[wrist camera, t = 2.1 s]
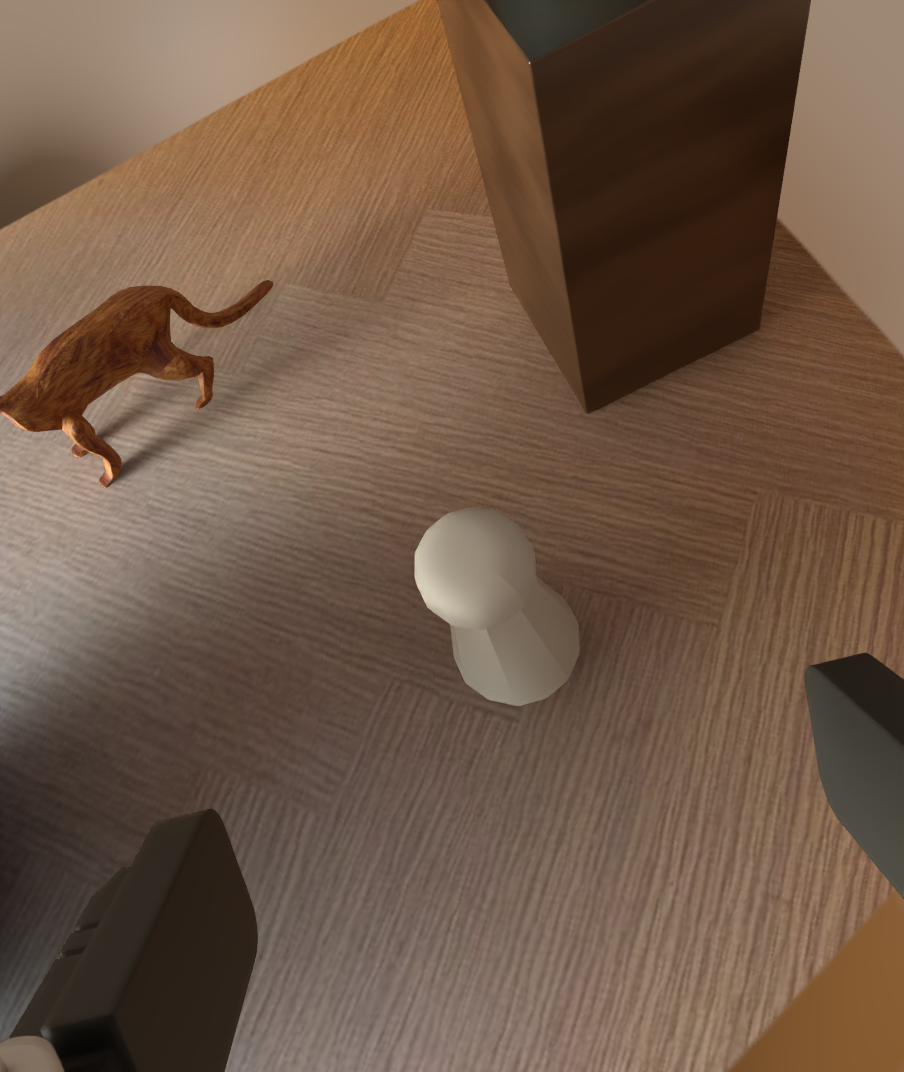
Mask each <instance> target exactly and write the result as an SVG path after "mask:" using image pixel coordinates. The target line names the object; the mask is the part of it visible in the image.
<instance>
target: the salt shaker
mask: <svg viewBox="0 0 904 1072" xmlns="http://www.w3.org/2000/svg"><path fill="white" fill-rule="evenodd" d="M415 581H416V584H417V587H418V589H419V591H420V593H421V595H422V597H423V599H424V601H425V604H426V606H427V607H428V608H429V609H430V610H431V611H432V612H434V613H435V614H436V615H438V616H439V617H441V618H442V619H443V620H445V621H446V622H448V623H449V624H450V629H451V637H452V646H453V654H454V659H455V661H456V664H457V666H458V668H459V670H460V672H461V674H462V677H463V679H464V681H465V683H466V684H467V685H469V686H470V687H471V688H473V689H474V690H476V691H477V692H478V693H480V694H481V695H483V696H484V697H485V698H487V699H488V700H491V701H496V702H500V703H505V704H510V705H515V706H522V705H525V704H529V703H532V702H536V701H539V700H543V699H546V698H548V697H549V696H550V695H551V694H552V693H554V692H555V691H556V690H557V689H558V688H560V687H561V686H562V685H563V684H564V683H565V682H567V681H568V680H569V677H570V675H571V673H572V670H573V668H574V666H575V663H576V661H577V659H578V656H579V654H580V643H579V624H578V621H577V619H576V618H575V616H574V614H573V613H572V611H571V609H570V607H569V606H568V604H567V602H566V600H565V599H564V598H563V597H562V596H560V595H559V594H558V593H557V592H556V591H554V590H553V589H552V588H551V587H549V586H548V585H547V584H546V583H545V582H543V581H542V580H541V579H540V578H538V577H537V576H536V556H535V552H534V549H533V547H532V545H531V544H530V542H529V540H528V539H527V537H526V535H525V534H524V532H523V530H522V529H521V527H520V526H519V525H518V524H517V523H516V522H514V521H512V520H511V519H509V518H508V517H506V516H505V515H503V514H502V513H500V512H499V511H497V510H496V509H487V508H477V507H468V508H465V509H461V510H458V511H454V512H451V513H448V514H445V515H444V516H443V517H442V518H441V519H439V520H438V521H437V522H436V523H435V524H434V525H432V526H431V527H430V528H429V529H428V530H427V531H426V532H425V534H424V536H423V538H422V540H421V542H420V544H419V546H418V548H417V550H416V552H415Z"/></svg>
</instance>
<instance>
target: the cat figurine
mask: <svg viewBox="0 0 904 1072" xmlns="http://www.w3.org/2000/svg"><path fill="white" fill-rule="evenodd" d="M272 286H273V282H272V281H269V280H267V281H263V282H262V283H260V284H259V285H257V286H256V287H255V288H254V289H253V290H252V291H250V292H249V293H248V294H247V295H246V296H245V297H244V298H242V299H241V300H240V301H239V302H237V303H236V304H234V305H233V306H231V307H229V308H227V309H225V310H222V311H220V312H216V313H207V312H204V311H201V310H199V309H197V308H196V307H194V306H193V305H192V304H191V303H190V302H189V301H188V300H187V299H186V298H185V297H184V296H183V295H182V294H180V293H179V292H177V291H175V290H173V289H171V288H166V287H162V286H136V287H129V288H126V289H123V290H121V291H118V292H117V293H115V294H114V295H112V296H111V297H110V298H108V299H107V300H106V301H105V302H104V303H102V304H101V305H100V306H99V307H97V308H96V309H95V310H93V311H92V312H91V313H89V314H88V315H86V316H85V317H84V318H82V319H81V320H79V321H78V322H77V323H75V324H74V325H72V326H71V327H70V328H68V329H67V330H66V331H64V332H63V333H62V334H60V335H59V336H58V337H56V338H55V339H54V340H53V341H52V342H51V343H50V344H49V345H48V346H47V347H46V348H45V349H44V350H42V351H41V353H40V354H39V355H38V357H37V358H36V359H35V361H34V362H33V364H32V366H31V368H30V369H29V371H28V373H27V374H26V375H25V376H24V377H23V378H22V379H21V380H20V381H19V382H18V383H17V384H16V385H14V386H13V387H12V388H11V389H10V390H9V391H7V392H6V393H5V394H4V395H2V396H0V412H1V413H2V414H3V415H5V416H6V417H7V418H8V419H9V420H10V421H11V422H12V423H13V424H14V425H16V426H18V427H19V428H21V429H24V430H28V431H33V432H40V431H49V430H59V429H62V430H63V431H64V432H65V433H66V434H67V435H68V436H69V437H70V438H71V439H72V440H73V441H74V442H75V443H76V444H75V445H74V446H73V448H72V453H73V454H74V455H75V456H76V457H82V456H84V455H85V454H86V453H88V452H91V453H93V454H96V455H99V456H101V457H102V458H103V462H104V466H105V472H104V474H103V475H102V476H101V478H100V479H99V484H100V485H101V486H102V487H108V486H110V485H111V484H112V483H113V482H114V481H115V479H116V478H117V477H118V475H119V473H120V471H121V464H122V462H121V458H120V456H119V455H118V454H117V453H116V452H115V450H114V449H113V448H112V447H111V446H110V445H108V444H107V443H106V442H105V441H103V440H102V439H101V438H99V437H97V436H96V435H95V430H94V428H93V427H92V426H91V424H90V423H89V422H88V421H87V420H86V419H85V418H84V417H83V416H82V414H83V412H84V411H85V409H86V407H87V406H88V404H90V403H91V402H93V401H94V400H95V399H97V398H98V397H100V396H101V395H103V394H104V393H105V392H107V391H108V390H110V389H111V388H113V387H114V386H115V385H117V384H118V383H120V382H122V381H123V380H125V379H127V378H129V377H130V376H132V375H134V374H136V373H145V374H149V375H151V376H153V377H155V378H160V379H164V380H178V381H179V380H183V379H187V378H191V377H197V378H198V379H199V385H200V390H201V393H202V395H201V397H200V398H199V399H198V401H197V402H196V405H195V407H196V409H197V410H198V409H200V408H202V407H204V406H205V405H206V404H208V403H209V402H210V400H211V399H212V396H213V391H212V386H213V378H214V362H213V358H212V357H209V356H207V357H202V356H195V355H191V354H189V353H186V352H185V351H183V350H181V349H179V348H177V347H176V346H175V345H174V344H173V343H172V342H171V336H170V309H171V308H172V309H173V310H174V311H175V312H176V313H177V314H178V315H179V316H180V317H181V318H182V319H184V320H185V321H187V322H188V323H190V324H193V325H195V326H199V327H203V328H218V327H223V326H225V325H228V324H230V323H232V322H234V321H236V320H237V319H239V318H240V317H242V316H243V315H244V314H246V313H247V312H248V311H249V310H250V309H251V308H253V307H254V306H255V305H256V304H257V303H258V302H259V301H260V300H261V299H262V298H263V297H264V296H265V295H266V294H267V293H268V292H269V291H270V290H271V288H272Z"/></svg>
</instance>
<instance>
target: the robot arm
mask: <svg viewBox="0 0 904 1072" xmlns="http://www.w3.org/2000/svg"><path fill="white" fill-rule="evenodd" d="M805 687H806V693H807V700H808V706H809V712H810V718H811V725H812V731H813V737H814V744H815V750H816V756H817V762H818V769H819V774H820V778H821V782H822V785H823V788H824V791H825V794H826V797H827V799H828V801H829V803H830V806H831V808H832V810H833V811H834V813H835V815H836V816H837V818H838V819H839V821H840V822H841V823H842V825H843V826H844V827H845V828H846V830H847V831H848V832H849V833H850V834H851V836H852V837H853V838H854V839H855V840H856V842H857V843H858V844H859V845H860V847H861V848H862V849H863V850H864V851H865V853H866V854H867V855H868V856H869V857H870V859H871V860H872V861H873V862H874V864H875V865H876V866H877V867H878V868H879V870H880V871H881V872H882V873H883V874H884V876H885V877H886V878H887V879H888V881H889V882H890V883H891V884H892V885H893V887H894V888H895V889H896V890H897V891H898V893H899V894H900V895H901V896H902V898H903V899H904V679H902V678H901V677H900V676H898V675H897V674H896V673H894V672H893V671H892V670H890V669H889V668H888V667H886V666H885V665H884V664H882V663H881V662H880V661H878V660H877V659H876V658H874V657H873V656H871V655H870V654H868V653H861V654H857V655H853V656H849V657H845V658H841V659H836V660H832V661H828V662H824V663H820V664H816V665H811V666H809V667H807V669H806V672H805ZM74 930H75V932H74V933H71V934H70V935H69V937H68V939H67V940H66V942H65V944H64V945H63V947H62V949H61V951H60V952H59V954H60V958H59V959H55V961H54V962H53V964H52V966H51V968H50V969H49V971H48V973H47V974H46V976H45V978H44V980H43V981H42V983H41V985H40V986H39V988H38V990H37V991H36V993H35V995H34V997H33V998H32V1000H31V1002H30V1003H29V1005H28V1007H27V1008H26V1010H25V1012H24V1014H23V1015H22V1017H21V1019H20V1020H19V1022H18V1024H17V1025H16V1027H15V1029H14V1031H13V1032H12V1034H11V1036H10V1037H9V1039H7V1040H3V1041H1V1042H0V1072H225V1068H226V1064H227V1061H228V1057H229V1053H230V1050H231V1046H232V1042H233V1039H234V1035H235V1031H236V1028H237V1024H238V1020H239V1017H240V1013H241V1009H242V1006H243V1002H244V998H245V995H246V991H247V988H248V984H249V980H250V977H251V973H252V969H253V966H254V962H255V958H256V954H257V944H258V933H257V922H256V916H255V911H254V907H253V904H252V901H251V898H250V895H249V893H248V890H247V887H246V884H245V881H244V879H243V876H242V873H241V870H240V867H239V865H238V862H237V859H236V856H235V853H234V851H233V848H232V845H231V842H230V839H229V837H228V834H227V831H226V828H225V826H224V823H223V821H222V819H221V817H220V815H219V814H218V813H217V812H216V811H215V810H213V809H207V810H203V811H199V812H194V813H190V814H186V815H182V816H178V817H174V818H169V819H165V820H161V821H158V822H156V823H155V824H154V825H153V827H152V828H151V830H150V832H149V834H148V835H147V837H146V839H145V841H144V843H143V845H142V846H141V848H140V850H139V852H138V854H137V855H136V857H135V859H134V861H133V863H132V865H131V866H129V867H125V868H122V869H121V870H120V871H118V872H117V873H116V874H115V875H114V876H113V877H112V878H111V879H110V880H109V881H108V882H107V883H106V884H105V885H104V886H103V887H102V888H101V889H100V890H99V891H98V892H97V893H96V894H95V895H94V896H93V897H92V898H91V900H90V901H89V903H88V905H87V906H86V908H85V910H84V911H83V913H82V915H81V917H80V918H79V920H78V922H77V923H76V925H75V927H74Z"/></svg>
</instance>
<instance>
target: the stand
mask: <svg viewBox="0 0 904 1072" xmlns="http://www.w3.org/2000/svg"><path fill="white" fill-rule="evenodd" d="M437 1H438V5H439V9H440V13H441V17H442V20H443V24H444V28H445V32H446V36H447V40H448V44H449V48H450V52H451V56H452V60H453V64H454V68H455V71H456V75H457V79H458V83H459V87H460V91H461V95H462V99H463V103H464V107H465V111H466V115H467V119H468V122H469V126H470V130H471V134H472V138H473V142H474V146H475V150H476V154H477V158H478V162H479V166H480V170H481V173H482V177H483V181H484V185H485V189H486V193H487V197H488V201H489V205H490V209H491V213H492V217H493V221H494V225H495V228H496V232H497V236H498V240H499V244H500V248H501V252H502V256H503V260H504V264H505V268H506V272H507V276H508V279H509V283H510V286H511V288H512V290H513V291H514V293H515V295H516V296H517V298H518V300H519V301H520V303H521V305H522V306H523V308H524V310H525V311H526V313H527V315H528V316H529V318H530V320H531V321H532V323H533V325H534V326H535V328H536V330H537V331H538V333H539V335H540V336H541V338H542V340H543V341H544V343H545V345H546V346H547V348H548V350H549V351H550V353H551V355H552V356H553V358H554V360H555V361H556V363H557V364H558V366H559V368H560V369H561V371H562V373H563V374H564V376H565V378H566V379H567V381H568V383H569V384H570V386H571V388H572V389H573V391H574V393H575V394H576V396H577V398H578V399H579V401H580V403H581V404H582V406H583V408H584V409H585V411H586V413H589V412H591V411H593V410H596V409H598V408H600V407H602V406H604V405H606V404H608V403H610V402H612V401H614V400H616V399H618V398H620V397H622V396H624V395H626V394H628V393H630V392H632V391H634V390H636V389H638V388H640V387H642V386H644V385H646V384H648V383H650V382H653V381H655V380H657V379H659V378H661V377H663V376H665V375H667V374H669V373H671V372H673V371H675V370H677V369H679V368H681V367H683V366H685V365H687V364H689V363H691V362H693V361H695V360H697V359H699V358H701V357H703V356H705V355H707V354H709V353H712V352H714V351H716V350H718V349H720V348H722V347H724V346H726V345H728V344H730V343H732V342H734V341H736V340H738V339H740V338H742V337H744V336H746V335H748V334H750V333H752V332H754V331H756V330H758V329H759V328H760V321H761V315H762V309H763V302H764V296H765V290H766V283H767V277H768V270H769V264H770V258H771V251H772V245H773V239H774V232H775V226H776V219H777V213H778V207H779V200H780V194H781V187H782V181H783V175H784V168H785V162H786V156H787V149H788V143H789V136H790V130H791V124H792V117H793V111H794V105H795V98H796V92H797V86H798V79H799V73H800V66H801V60H802V54H803V48H804V41H805V35H806V28H807V22H808V16H809V9H810V2H811V0H437Z"/></svg>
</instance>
